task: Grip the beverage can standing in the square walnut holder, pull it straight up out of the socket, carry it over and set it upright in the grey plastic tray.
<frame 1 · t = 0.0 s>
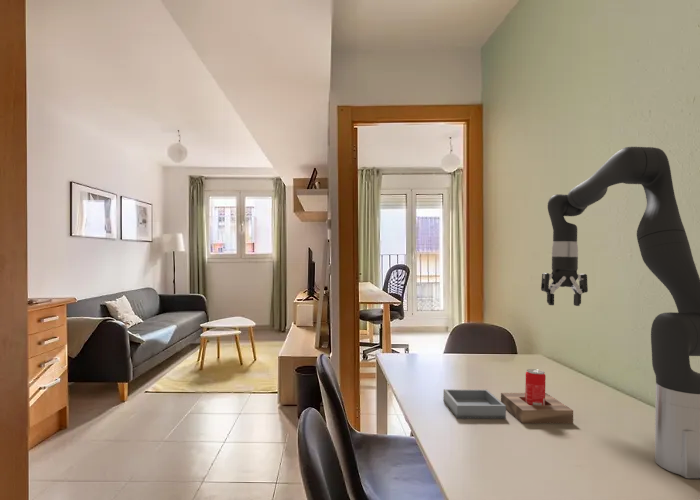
hand: (563, 305, 134), 29 cm above the table, tool pointing down, fingers open, 8 cm apart
socket holder: (534, 413, 117), on the table
beverage can: (534, 414, 117), resting in socket holder
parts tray: (472, 409, 120), on the table
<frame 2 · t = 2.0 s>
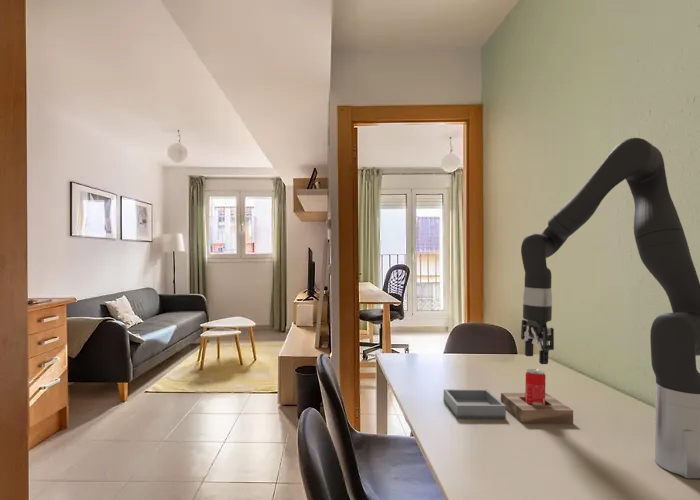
hand: (535, 359, 118), 15 cm above the table, tool pointing down, fingers open, 8 cm apart
nothing on the table moved.
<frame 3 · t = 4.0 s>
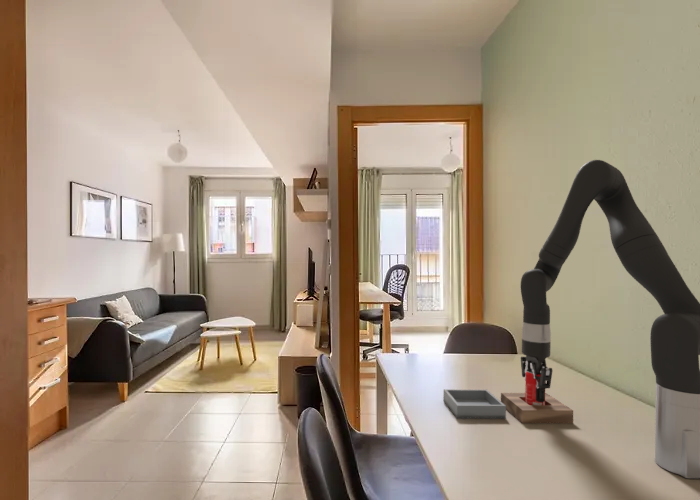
hand: (535, 397, 118), 4 cm above the table, tool pointing down, fingers closed on beverage can, 5 cm apart
beverage can: (534, 414, 117), resting in socket holder, touching gripper
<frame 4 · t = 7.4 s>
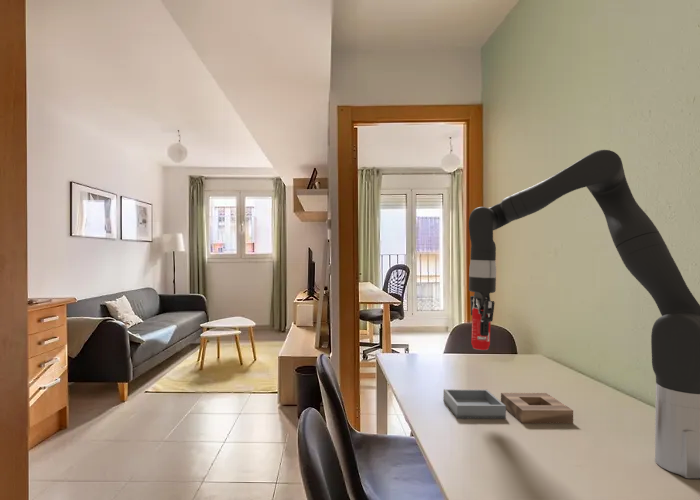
hand: (480, 333, 120), 22 cm above the table, tool pointing down, fingers closed on beverage can, 5 cm apart
beverage can: (480, 349, 120), point 17 cm above the table, touching gripper
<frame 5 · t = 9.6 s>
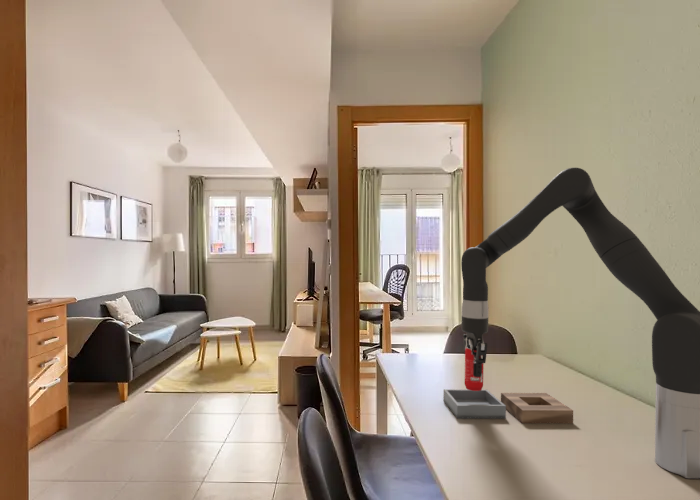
hand: (473, 373, 120), 10 cm above the table, tool pointing down, fingers closed on beverage can, 5 cm apart
beverage can: (473, 389, 120), point 6 cm above the table, touching gripper
when the fingers open (7 cm above the table, at t = 11.3 s): beverage can drops 2 cm, resting on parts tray.
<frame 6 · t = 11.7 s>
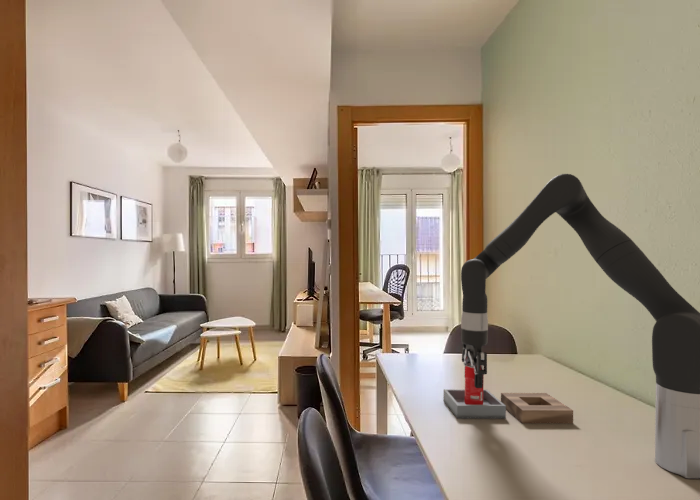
hand: (473, 383, 120), 8 cm above the table, tool pointing down, fingers open, 8 cm apart
beverage can: (473, 407, 119), point 1 cm above the table, touching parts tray
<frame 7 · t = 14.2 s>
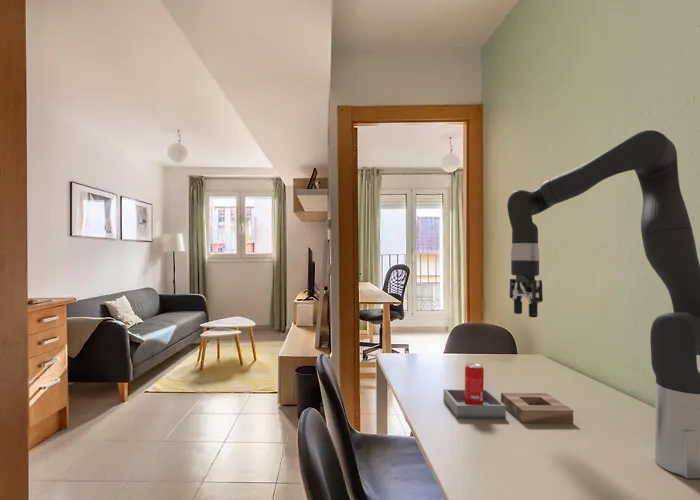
hand: (525, 315, 119), 28 cm above the table, tool pointing down, fingers open, 8 cm apart
nothing on the table moved.
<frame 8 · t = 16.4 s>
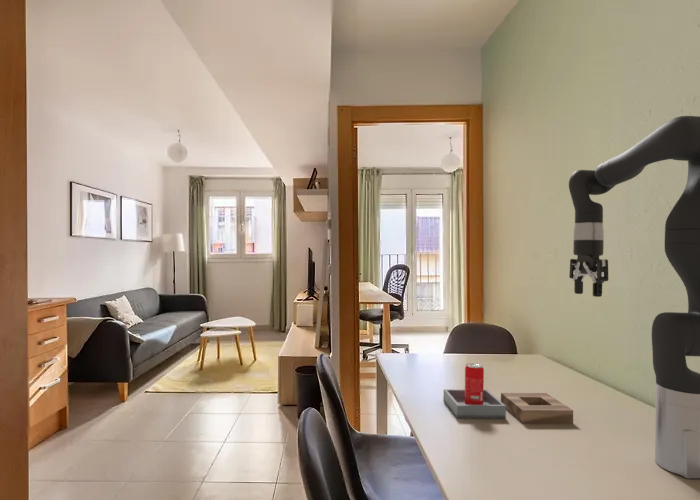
hand: (587, 295, 119), 34 cm above the table, tool pointing down, fingers open, 8 cm apart
nothing on the table moved.
at the end: beverage can inside the target area on the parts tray (0.3 cm from its centre), point 0.6 cm above the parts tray's base; beverage can tilted 0°; the gripper is holding nothing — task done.
